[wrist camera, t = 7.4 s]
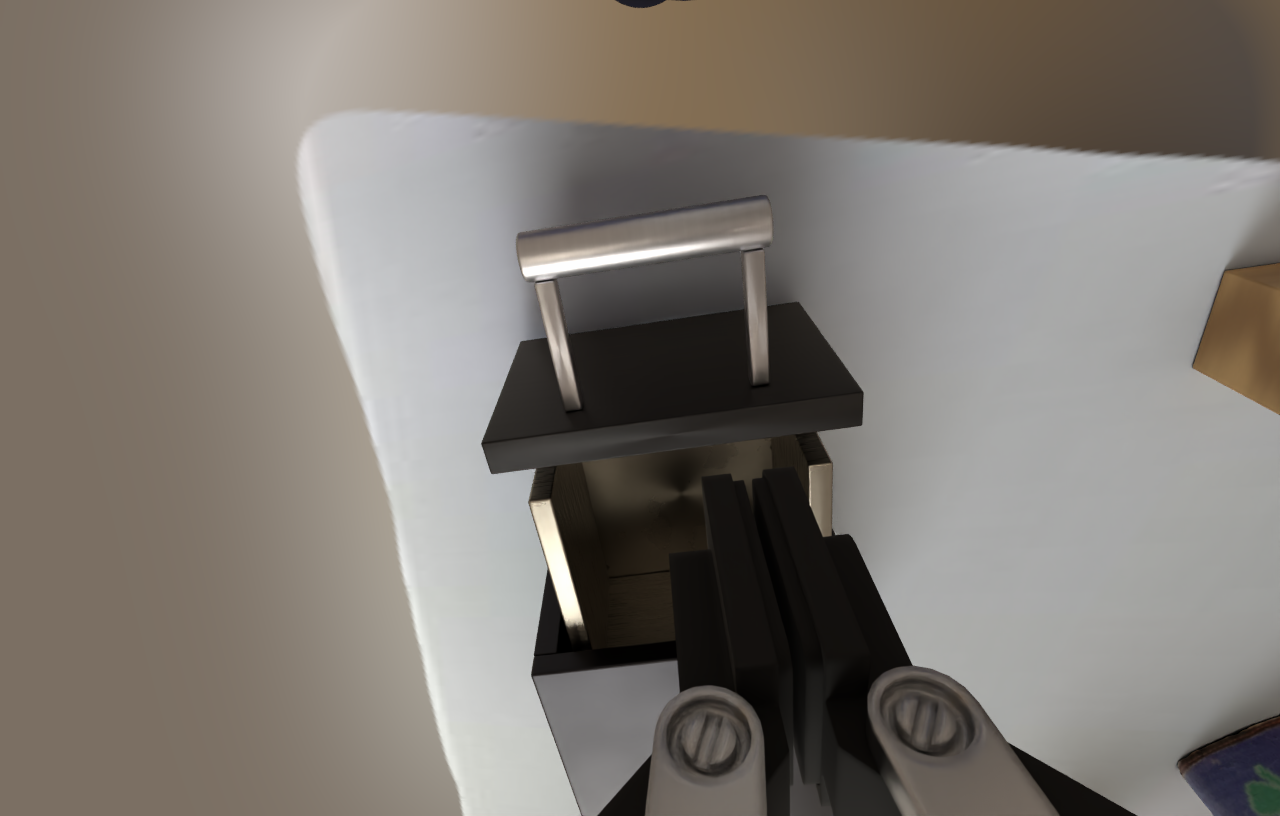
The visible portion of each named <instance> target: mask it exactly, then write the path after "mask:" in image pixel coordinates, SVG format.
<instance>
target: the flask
mask: <svg viewBox="0 0 1280 816" xmlns="http://www.w3.org/2000/svg"><path fill="white" fill-rule="evenodd" d="M1178 768H1179V770H1180V773H1181V775H1182V776H1183V778H1184V779H1185V780H1186V781H1187V783H1188V784H1189V785H1190V786H1191V788H1192V789H1193V790H1194V791H1195V793H1196V794H1197V795H1198V796H1199V798H1200V799H1201V800H1202V801H1203V803H1204V804H1205V805H1206V806H1207V807H1208V809H1209V810H1210V811H1211V813H1212V814H1213V816H1280V717H1277V718H1274V719H1271V720H1268V721H1266V722H1263V723H1258V724H1257V725H1253V726H1251V727H1249V728H1248V729H1246V730H1242V731H1241V732H1240V733H1239V734H1236V735H1233V736H1228V737H1226V738H1224V739H1222V740H1220V741H1218V742H1215V743H1213V744H1210V745H1208V746H1206V748H1203V749H1202V750H1196V751H1194V752H1192V754H1190V755H1189V756H1188V757H1187V758H1185V759H1182V761H1179V764H1178Z"/></svg>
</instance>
